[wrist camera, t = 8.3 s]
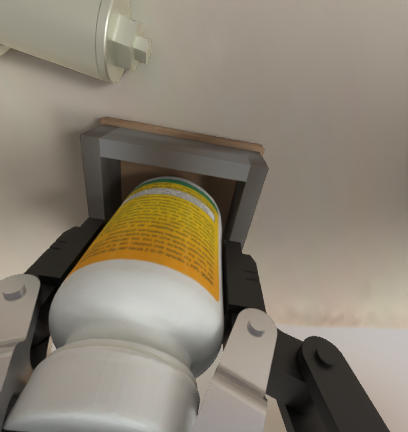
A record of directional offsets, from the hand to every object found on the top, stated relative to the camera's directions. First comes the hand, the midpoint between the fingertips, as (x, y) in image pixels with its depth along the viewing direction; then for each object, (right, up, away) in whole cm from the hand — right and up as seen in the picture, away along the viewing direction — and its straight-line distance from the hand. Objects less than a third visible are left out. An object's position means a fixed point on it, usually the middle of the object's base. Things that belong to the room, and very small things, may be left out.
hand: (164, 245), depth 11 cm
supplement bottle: (0, +1, +2) cm, 3 cm away
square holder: (0, +2, +4) cm, 5 cm away
